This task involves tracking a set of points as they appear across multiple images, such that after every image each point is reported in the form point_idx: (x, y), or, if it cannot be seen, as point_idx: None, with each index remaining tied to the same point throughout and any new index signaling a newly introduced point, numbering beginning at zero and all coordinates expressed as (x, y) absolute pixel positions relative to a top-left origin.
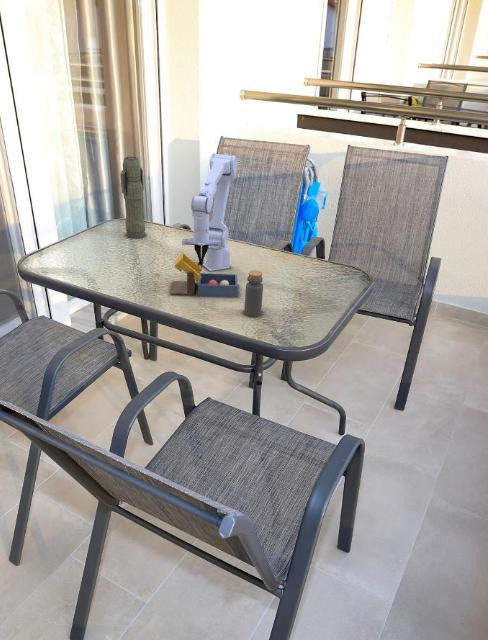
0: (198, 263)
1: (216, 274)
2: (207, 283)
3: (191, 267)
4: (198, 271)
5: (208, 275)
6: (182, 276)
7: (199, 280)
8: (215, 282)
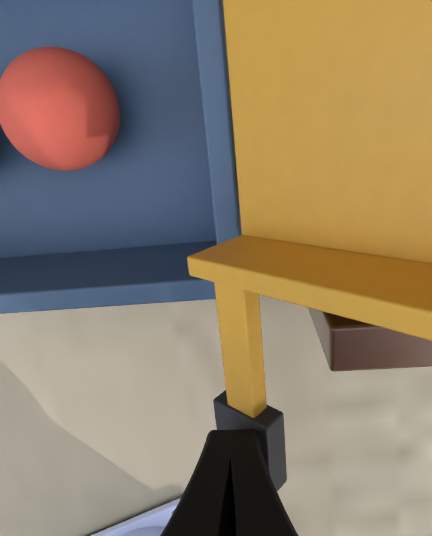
0: (273, 449)
1: (32, 291)
2: (161, 246)
3: (379, 242)
4: (249, 242)
5: (131, 276)
6: (411, 381)
7: (208, 25)
8: (2, 86)
